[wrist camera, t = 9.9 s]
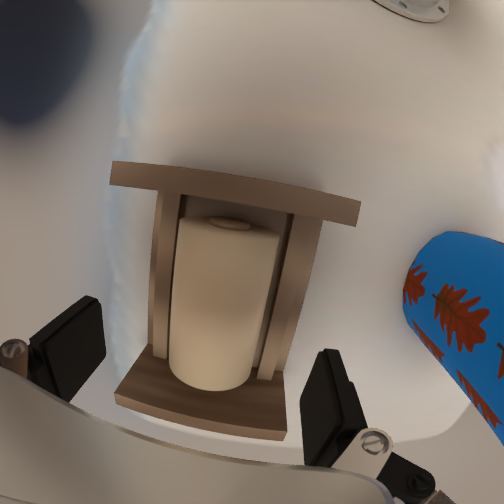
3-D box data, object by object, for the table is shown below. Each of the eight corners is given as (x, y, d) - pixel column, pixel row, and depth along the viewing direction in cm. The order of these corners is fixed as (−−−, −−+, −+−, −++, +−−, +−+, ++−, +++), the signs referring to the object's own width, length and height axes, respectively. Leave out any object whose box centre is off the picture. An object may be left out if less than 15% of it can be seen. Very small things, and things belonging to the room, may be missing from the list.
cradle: (166, 168, 19) (112, 160, 12) (324, 195, 19) (361, 201, 12) (151, 348, 23) (116, 403, 15) (279, 374, 23) (282, 441, 15)
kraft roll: (196, 207, 19) (164, 216, 13) (280, 223, 19) (282, 238, 13) (182, 338, 22) (156, 381, 16) (252, 353, 22) (245, 403, 16)
